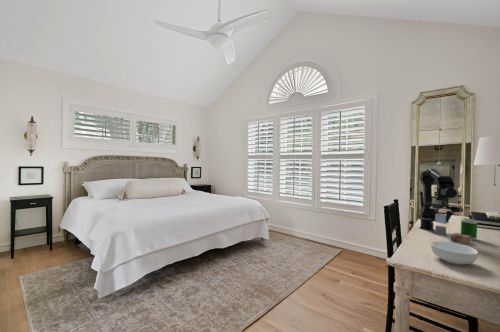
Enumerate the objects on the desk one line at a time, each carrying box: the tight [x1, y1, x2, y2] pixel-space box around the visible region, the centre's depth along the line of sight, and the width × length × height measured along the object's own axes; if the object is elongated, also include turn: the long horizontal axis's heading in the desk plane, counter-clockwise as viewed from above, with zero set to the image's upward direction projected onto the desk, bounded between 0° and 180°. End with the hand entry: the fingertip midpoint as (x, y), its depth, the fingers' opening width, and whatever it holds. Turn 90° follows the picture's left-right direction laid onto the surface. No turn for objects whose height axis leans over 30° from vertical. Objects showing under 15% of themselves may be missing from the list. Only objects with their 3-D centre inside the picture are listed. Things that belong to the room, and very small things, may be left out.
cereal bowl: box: [430, 240, 479, 266], centre depth 114 cm, size 17×17×7 cm
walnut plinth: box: [449, 232, 471, 245], centre depth 144 cm, size 7×7×4 cm
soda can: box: [460, 217, 478, 241], centre depth 151 cm, size 8×8×12 cm
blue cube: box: [434, 213, 450, 225], centre depth 150 cm, size 5×5×5 cm
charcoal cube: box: [434, 225, 447, 236], centre depth 159 cm, size 5×5×5 cm
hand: (441, 220), depth 150 cm, fingers closed on blue cube, 5 cm apart
